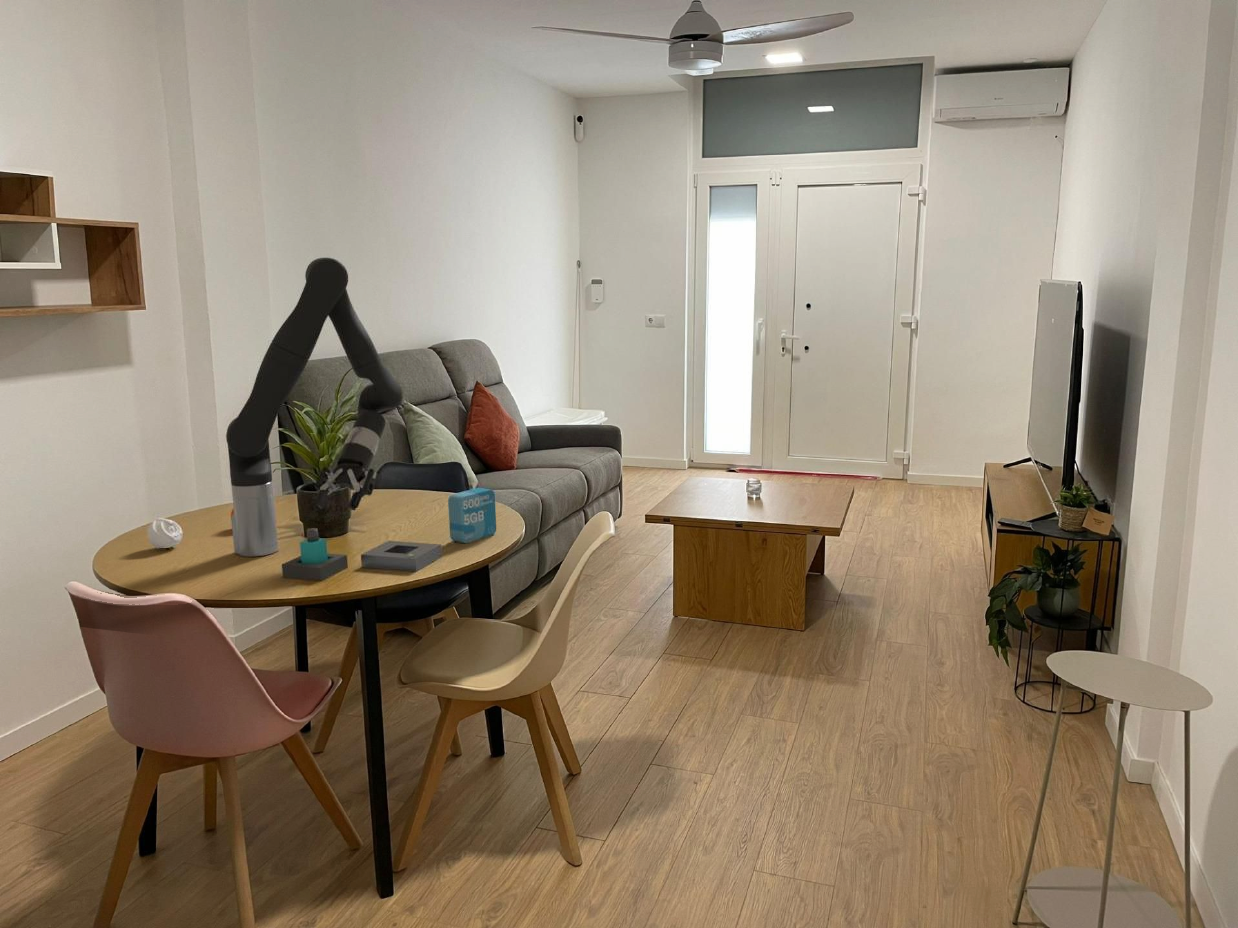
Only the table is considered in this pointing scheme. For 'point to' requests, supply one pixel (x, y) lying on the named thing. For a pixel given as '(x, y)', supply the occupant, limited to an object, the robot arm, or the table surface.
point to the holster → (315, 568)
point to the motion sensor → (164, 533)
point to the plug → (313, 548)
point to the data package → (472, 515)
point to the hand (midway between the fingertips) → (335, 507)
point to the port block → (401, 556)
